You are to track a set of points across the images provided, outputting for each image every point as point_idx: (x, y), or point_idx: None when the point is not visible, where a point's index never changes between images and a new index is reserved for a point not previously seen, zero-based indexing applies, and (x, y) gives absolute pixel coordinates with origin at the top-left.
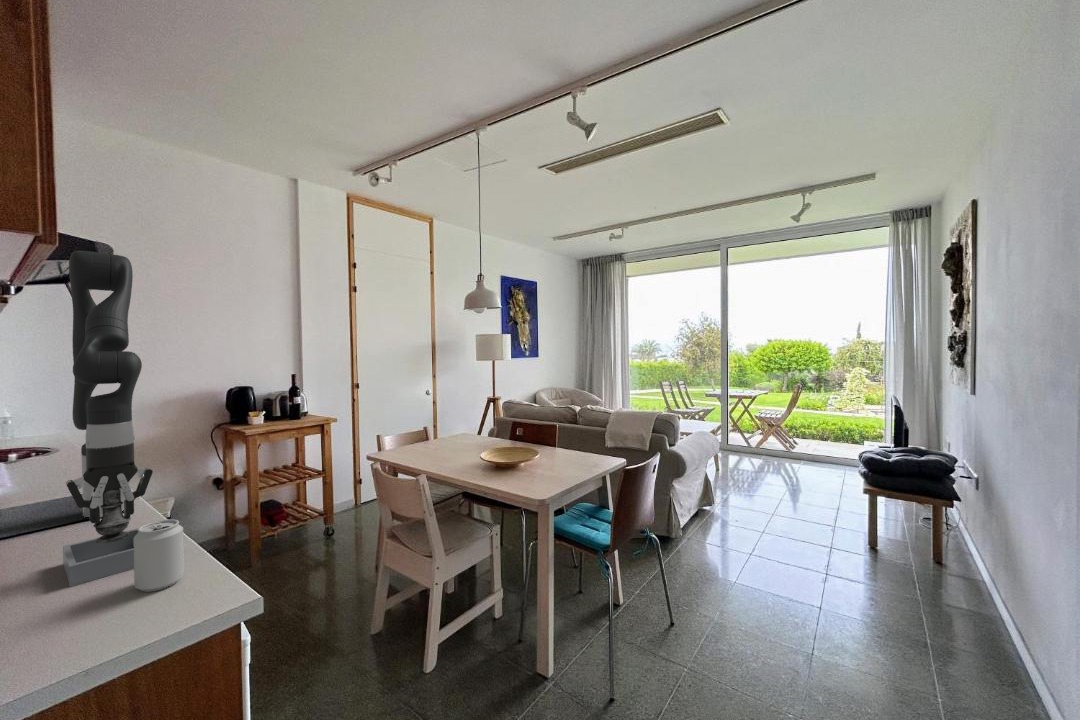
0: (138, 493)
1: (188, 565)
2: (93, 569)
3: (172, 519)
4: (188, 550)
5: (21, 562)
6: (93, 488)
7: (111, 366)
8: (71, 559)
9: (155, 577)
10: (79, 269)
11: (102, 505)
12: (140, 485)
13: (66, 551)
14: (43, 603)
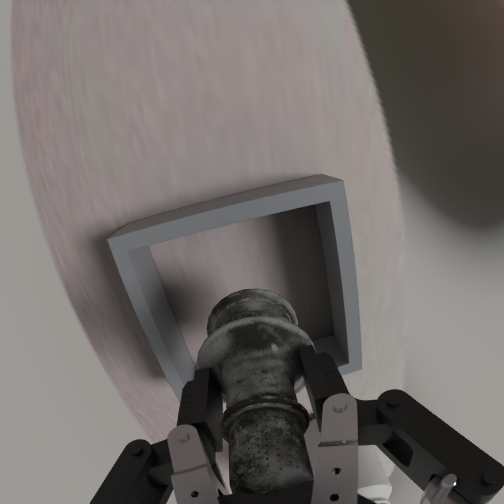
0: (378, 445)
1: (377, 385)
2: None
3: (385, 502)
4: (397, 310)
5: (38, 142)
6: (176, 498)
7: None
8: (171, 371)
9: None
10: None
11: (227, 435)
12: (403, 467)
13: (135, 302)
14: (168, 412)
